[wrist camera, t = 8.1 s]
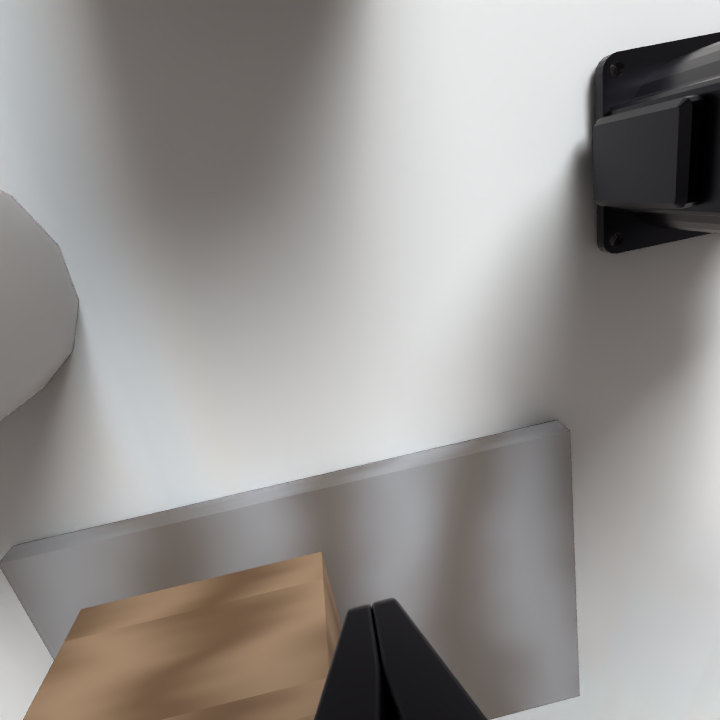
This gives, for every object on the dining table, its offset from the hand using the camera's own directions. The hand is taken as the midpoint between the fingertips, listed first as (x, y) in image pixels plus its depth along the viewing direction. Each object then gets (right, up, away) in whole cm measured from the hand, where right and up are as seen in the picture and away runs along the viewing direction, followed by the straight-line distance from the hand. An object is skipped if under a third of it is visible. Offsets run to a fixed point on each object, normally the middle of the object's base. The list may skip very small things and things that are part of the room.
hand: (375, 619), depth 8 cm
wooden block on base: (-2, -8, +14) cm, 16 cm away
